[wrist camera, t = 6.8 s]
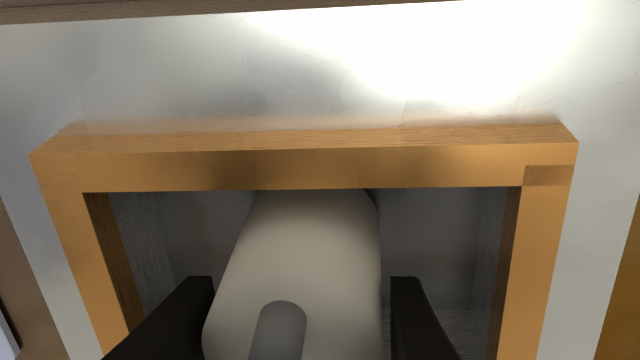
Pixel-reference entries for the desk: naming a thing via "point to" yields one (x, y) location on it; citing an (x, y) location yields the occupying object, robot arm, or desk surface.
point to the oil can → (301, 281)
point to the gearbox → (328, 152)
